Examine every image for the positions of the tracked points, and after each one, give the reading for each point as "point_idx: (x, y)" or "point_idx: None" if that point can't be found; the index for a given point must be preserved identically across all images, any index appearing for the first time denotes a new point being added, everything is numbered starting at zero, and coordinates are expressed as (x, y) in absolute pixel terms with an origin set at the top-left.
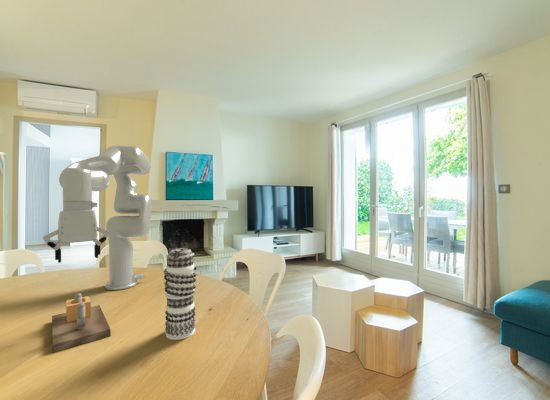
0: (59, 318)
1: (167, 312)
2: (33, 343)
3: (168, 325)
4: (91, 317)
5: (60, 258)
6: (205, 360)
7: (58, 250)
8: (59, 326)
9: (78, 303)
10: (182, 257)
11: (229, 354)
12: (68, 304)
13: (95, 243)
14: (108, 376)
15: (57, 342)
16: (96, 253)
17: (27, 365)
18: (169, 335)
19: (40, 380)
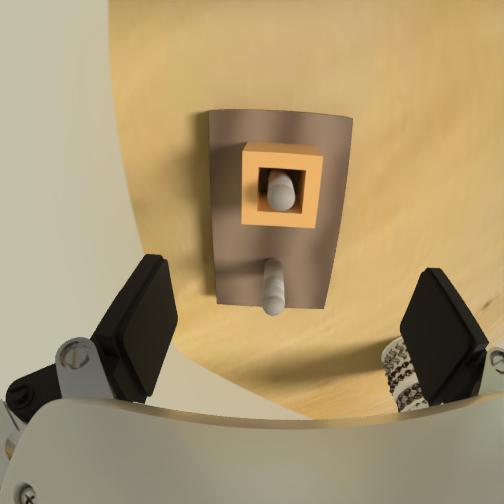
0: (228, 152)
1: (395, 385)
2: (181, 227)
3: (387, 371)
4: None
5: (166, 342)
6: (370, 403)
7: (134, 400)
8: (227, 216)
9: (277, 219)
10: None
11: (391, 404)
12: (247, 206)
13: (468, 383)
14: (281, 384)
15: (224, 299)
16: (412, 356)
17: (186, 307)
18: (385, 356)
19: (209, 351)
